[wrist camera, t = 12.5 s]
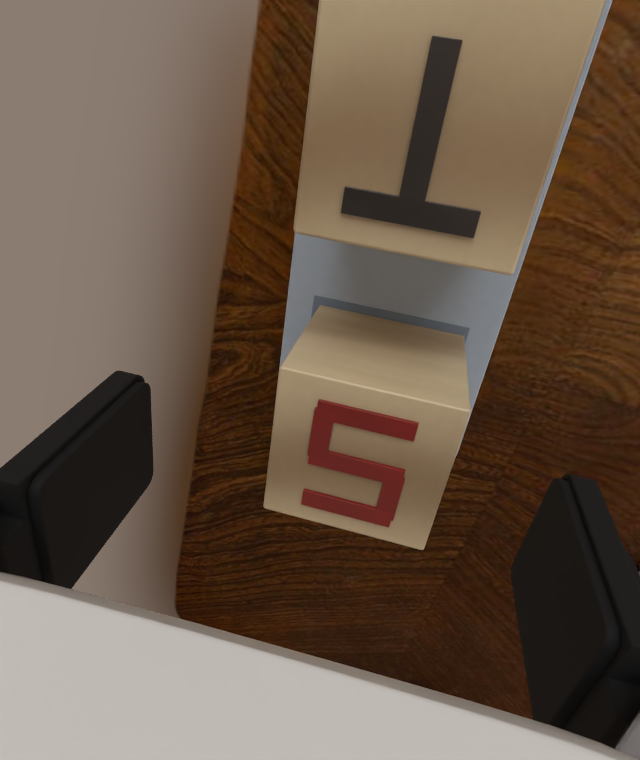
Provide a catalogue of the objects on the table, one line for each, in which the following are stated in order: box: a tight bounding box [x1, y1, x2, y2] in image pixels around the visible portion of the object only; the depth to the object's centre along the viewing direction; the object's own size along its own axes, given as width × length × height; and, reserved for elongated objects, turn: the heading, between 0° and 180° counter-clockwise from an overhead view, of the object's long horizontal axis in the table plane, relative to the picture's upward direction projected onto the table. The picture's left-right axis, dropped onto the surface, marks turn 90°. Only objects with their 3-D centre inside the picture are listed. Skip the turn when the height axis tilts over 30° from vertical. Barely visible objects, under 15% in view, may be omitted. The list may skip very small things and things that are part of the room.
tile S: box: [264, 305, 471, 550], centre depth 15 cm, size 4×4×5 cm
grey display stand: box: [275, 0, 612, 456], centre depth 20 cm, size 20×6×16 cm, turn 172°
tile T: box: [293, 0, 606, 275], centre depth 11 cm, size 4×4×5 cm
